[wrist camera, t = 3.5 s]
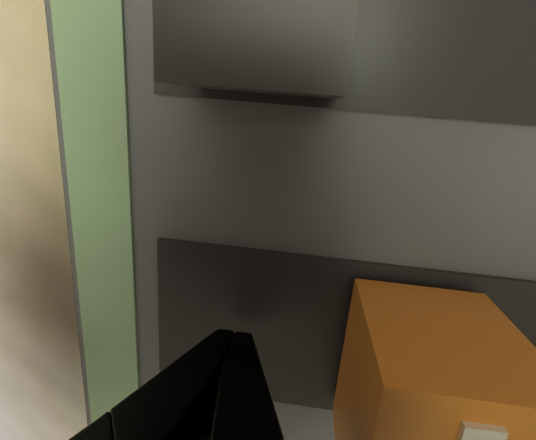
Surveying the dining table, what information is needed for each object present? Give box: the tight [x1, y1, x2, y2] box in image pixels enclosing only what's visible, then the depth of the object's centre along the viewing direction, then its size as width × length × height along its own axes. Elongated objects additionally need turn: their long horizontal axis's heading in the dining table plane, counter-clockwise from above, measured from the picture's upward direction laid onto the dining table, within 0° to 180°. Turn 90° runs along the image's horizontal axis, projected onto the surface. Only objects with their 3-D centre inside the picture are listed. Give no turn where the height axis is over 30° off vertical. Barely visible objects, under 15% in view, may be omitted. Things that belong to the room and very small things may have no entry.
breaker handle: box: [333, 278, 536, 440], centre depth 7 cm, size 3×4×4 cm
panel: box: [44, 0, 536, 440], centre depth 9 cm, size 18×20×4 cm
